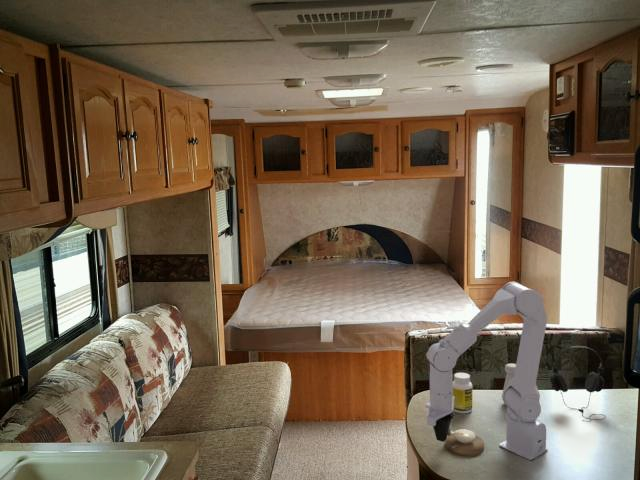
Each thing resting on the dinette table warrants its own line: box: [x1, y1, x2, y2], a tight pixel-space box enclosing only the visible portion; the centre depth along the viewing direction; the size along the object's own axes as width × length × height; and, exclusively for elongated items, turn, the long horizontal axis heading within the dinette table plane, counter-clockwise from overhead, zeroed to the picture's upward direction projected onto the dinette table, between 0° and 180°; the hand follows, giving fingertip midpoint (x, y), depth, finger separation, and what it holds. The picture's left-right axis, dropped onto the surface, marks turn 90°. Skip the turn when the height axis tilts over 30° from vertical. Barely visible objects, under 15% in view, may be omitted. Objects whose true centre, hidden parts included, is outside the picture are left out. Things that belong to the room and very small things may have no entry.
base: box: [445, 435, 485, 457], centre depth 146 cm, size 10×10×2 cm
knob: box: [447, 422, 477, 443], centre depth 146 cm, size 8×6×4 cm
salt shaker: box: [501, 362, 516, 407], centre depth 168 cm, size 6×6×13 cm
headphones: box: [549, 345, 606, 422], centre depth 161 cm, size 15×11×20 cm
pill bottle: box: [452, 372, 473, 415], centre depth 166 cm, size 6×6×11 cm
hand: (441, 439), depth 142 cm, fingers closed
